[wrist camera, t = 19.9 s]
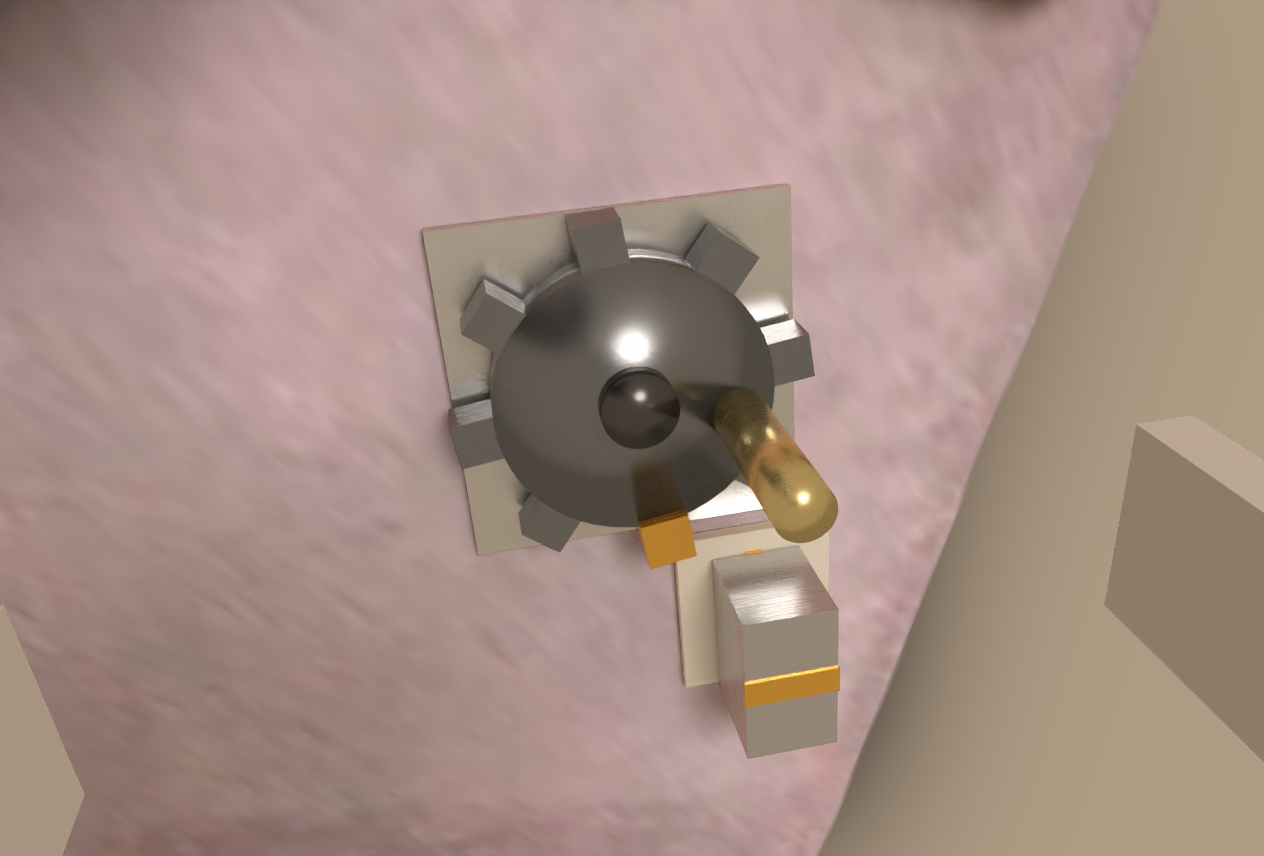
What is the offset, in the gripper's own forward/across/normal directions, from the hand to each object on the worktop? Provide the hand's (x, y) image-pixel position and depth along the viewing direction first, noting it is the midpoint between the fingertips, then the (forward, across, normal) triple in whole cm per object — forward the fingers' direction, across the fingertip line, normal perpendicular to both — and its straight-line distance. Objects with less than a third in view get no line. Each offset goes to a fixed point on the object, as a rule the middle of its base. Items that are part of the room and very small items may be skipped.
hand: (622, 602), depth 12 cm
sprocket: (+28, +5, -10) cm, 30 cm away
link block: (+27, +10, -22) cm, 36 cm away
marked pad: (+28, +10, -22) cm, 37 cm away
